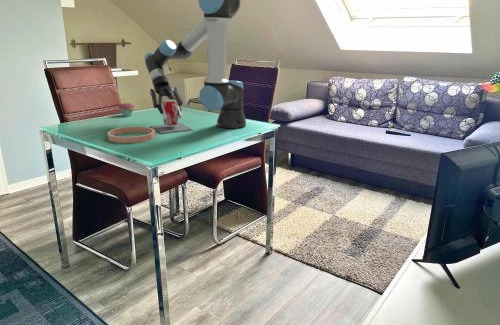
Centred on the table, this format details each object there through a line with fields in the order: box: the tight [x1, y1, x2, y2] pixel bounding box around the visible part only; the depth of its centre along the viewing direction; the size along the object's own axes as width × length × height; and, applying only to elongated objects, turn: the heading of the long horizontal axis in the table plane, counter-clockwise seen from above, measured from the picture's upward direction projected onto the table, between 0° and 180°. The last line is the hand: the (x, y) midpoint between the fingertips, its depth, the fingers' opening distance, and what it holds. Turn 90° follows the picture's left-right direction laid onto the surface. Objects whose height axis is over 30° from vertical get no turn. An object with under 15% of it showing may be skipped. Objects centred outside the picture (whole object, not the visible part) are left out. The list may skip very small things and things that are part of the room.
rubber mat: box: [149, 122, 193, 135], centre depth 187 cm, size 16×16×1 cm
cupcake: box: [118, 95, 135, 118], centre depth 213 cm, size 9×8×12 cm
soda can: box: [162, 98, 179, 126], centre depth 185 cm, size 7×7×12 cm
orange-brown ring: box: [107, 125, 156, 144], centre depth 170 cm, size 20×20×2 cm
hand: (173, 117), depth 183 cm, fingers closed on soda can, 7 cm apart
